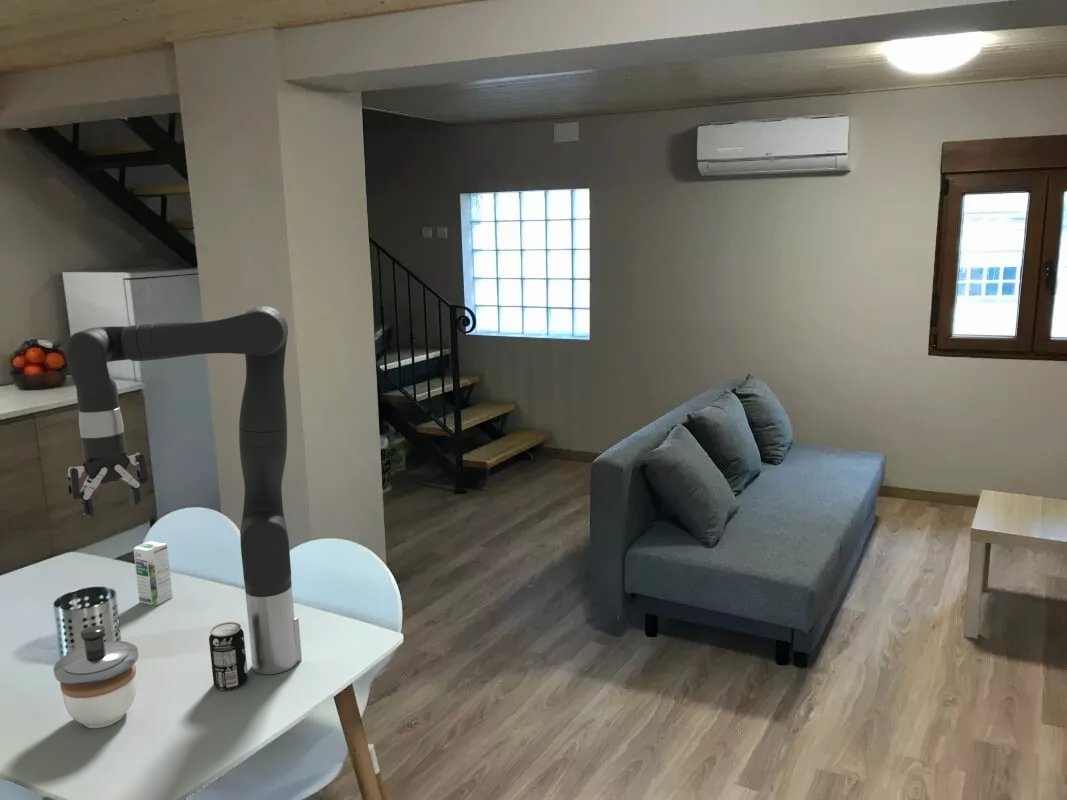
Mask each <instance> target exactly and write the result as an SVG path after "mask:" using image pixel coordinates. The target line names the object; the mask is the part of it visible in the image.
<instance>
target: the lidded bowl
mask: <svg viewBox="0 0 1067 800" xmlns="http://www.w3.org/2000/svg"><path fill="white" fill-rule="evenodd" d="M136 673H137V666H136V663H135V664H134V665H133V666H131V667H130V668H129V669H127V670H126V671H124V672H122V673H120V674H118V675H116V676H114V677H111V678H109V679H106V680H102V681H98V682H94V683H88V684H65V683H62V682H60V681H59V684H60V685H59V686H60V690H61V694H62V701H63V703H64V705H65V708H66V711H67V712H68V714H69V715H70V717H71V718H72V719H73V720H74V721H76V722H78V723H79V724H81V725H83V726H84V727H85V728H88V729H99V728H106V727H108V726H112V725H113V724H115V723H117V722H119V721H121V720H122V719H123V718H124V717H125V714H126V713H127V711H128V710H129V709H130V708H131V706H132V704H133V703H134V700H135V697H136V692H137V674H136Z"/></svg>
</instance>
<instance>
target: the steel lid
mask: <svg viewBox="0 0 1067 800" xmlns="http://www.w3.org/2000/svg"><path fill="white" fill-rule="evenodd" d="M105 633H106V628H105V626H103V625H93V626H89V627H86V628H84V629H82V630H81V631H80V639H81V640H83V642H84V646H82V647H79V648H77V649H75V650H73V651H71V652H68V653H67V654H65V655H63V657H61V658H60V659H59V660H58V661H57V662H56V663H55V665H54V666H53V673H54V674H53V675H54V678H55V680H56V681H57V682H59V683H60V682H62V683H65V684H88V683H94V682H98V681H102V680H106V679H109V678H111V677H114V676H116V675H118V674H120V673H122V672H124V671H126V670H127V669H129V668H130V667H131V666H133V665H134V664H135V665H136V663H137V661H138V659H139V649H138V647H137V646H136V644H133V643H132V642H128V641H124V640H123V641H121V640H111V641H109V640H108V641H105V639H104V635H105Z"/></svg>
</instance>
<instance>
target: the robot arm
mask: <svg viewBox="0 0 1067 800" xmlns="http://www.w3.org/2000/svg"><path fill="white" fill-rule="evenodd" d="M288 334H289V326H288V323H287V320H286V318H285V317H284V315H283V314H282V313H281V312H280V311H279V310H277V309H276V308H275V307H271V306H267V305H260V306H258V307H256V306H255V307H254V308H250V309H249V310H247V311H246V312H244V313H241V314H238V315H233V316H229V317H226V318H221V319H215V320H214V319H213V320H209V321H165V322H153V323H152V322H151V323H141V324H135V325H134V324H133V325H128V326H117V325H116V326H98V327H96V326H94V327H91V328H87V329H83V330H81V331H76V332H75V333H73V334H72V335H71V336H70V337H69V338H68V340H67V341H66V344H65V359H66V364H67V368H68V370H69V373H70V377H71V378H72V381H73V385H74V386H75V389H76V397H77V398H76V399H77V406H78V425H79V431H80V432H79V433H80V441H81V448H82V457H83V464H82V465H81V466H80V465H79V466H71V465H69V466H67V467H66V481H67V482H66V483H67V494H68V497H70V498H73V499H74V500H80V506H81V512H82V514H83V515H84V516H86V517H87V518H93V517H94V516H95V515H94V507H93V502H92V498H91V497H92V495H93V492H94V491H95V490H97V488H98V487H99V486H100V484H102V485H104V484H108V483H111V482H117V481H120V479H121V480H123V481H124V482H125V483H127V484H128V485H129V486H128V494H129V503H130V505H131V506H133V507H137V506H139V503H141V493H140V492H141V491H140V487H141V485H143V484H144V483H148V482H149V474H148V469H147V464H146V463H147V462H146V459H145V455H144V454H141V453H140V452H133V454H132V455H128V454H127V446H126V445H127V444H126V437H125V425H124V422H123V421H124V420H123V416H122V412H121V407H120V400H119V393H118V387H117V383H116V381H115V380H114V379H113V378H111V377H110V371H109V368H108V363H111V362H118V361H119V362H120V361H132V362H145V361H146V362H147V361H155V360H157V361H158V360H165V359H167V360H168V359H174V358H182V357H189V356H197V355H206V354H209V355H211V354H212V355H213V354H238V355H245V356H244V357H245V369H246V370H245V383H244V389H243V393H242V399H241V405H240V412H239V422H238V435H239V436H238V437H239V438H238V440H239V444H238V445H239V455H240V457H239V458H240V465H241V471H242V477H243V485H244V495H243V496H244V498H243V509H242V516H241V517H242V518H241V524H240V530H239V531H240V532H239V537H240V538H239V539H240V555H241V563H242V572H243V582H244V589H245V590H244V591H245V602H246V613H247V620H248V631H249V632H248V633H249V634H248V635H249V643H250V645H249V646H250V654H251V655H250V656H251V658H250V659H251V664H252V665H251V666H252V669H253V671H254V672H255V673H257V674H261V675H274V674H275V675H276V674H279V673H284V672H286V671H288V670H291V669H292V668H293V667H294V666H296V665H297V664H298V662H300V661H301V660H302V659H303V657H302V645H301V634H300V631H301V630H300V620H299V618H298V617H296V616H295V609H294V608H295V607H294V597H293V586H292V585H293V584H292V567H291V553H290V552H291V551H290V540H289V533H288V529H287V524H286V519H285V514H284V507H283V506H284V505H283V494H282V493H283V492H282V484H283V477H284V472H285V466H286V461H287V460H286V459H287V452H288V451H287V449H288V419H287V418H288V416H287V398H286V390H285V389H286V387H285V379H284V378H285V375H284V374H285V359H286V352H287V351H286V349H287V341H288ZM130 463H131V464H132V465H133V466H134V468H135V473H136V477H135V478H134V476H133V475H131V474H130V473H129V472H128V471H127V469H128V467H129V464H130ZM83 473H85V474H86V475H87V476H86V478H85V480H84V482H83V486H82V488H81V489H80V481H79V478H80V479H81V477H82V474H83Z"/></svg>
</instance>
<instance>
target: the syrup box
mask: <svg viewBox="0 0 1067 800" xmlns="http://www.w3.org/2000/svg"><path fill="white" fill-rule="evenodd" d="M132 550H133V556H134V565H135V575H136V583H137V593H138V603H140V604H146V605H151V606H154V607H156V606H158V605H160V604H162V603H164V602H166V601H168V600H170V599H172V598H173V588H172V586H173V585H172V578H171V569H170V559H169V548H168V543H162V542H157V541H153V540H151V541H147V542H146V541H145V542H144V543H141V544H139V545H137V546H135V547H133V549H132Z"/></svg>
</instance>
